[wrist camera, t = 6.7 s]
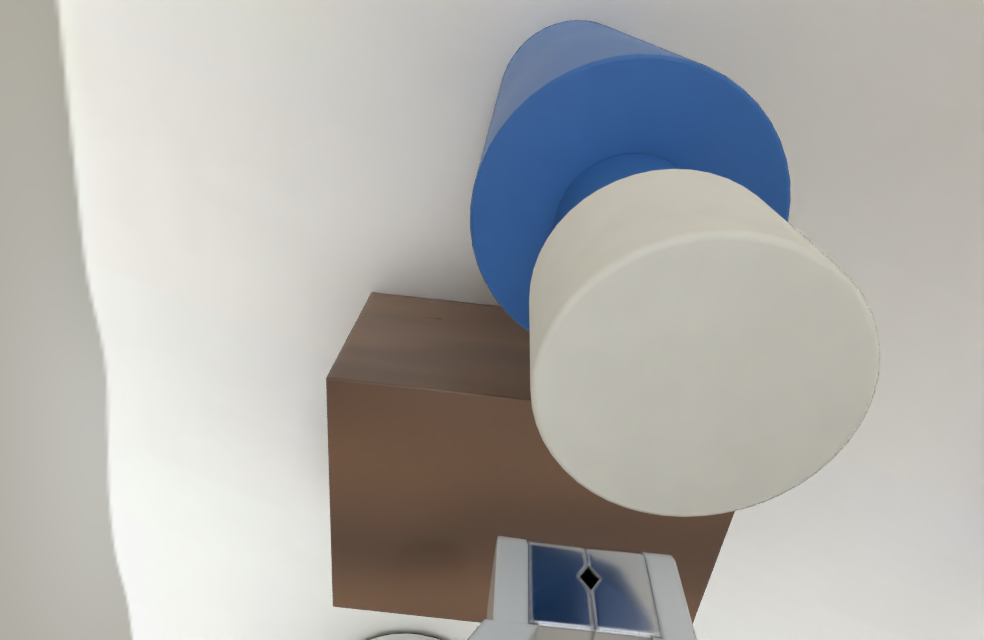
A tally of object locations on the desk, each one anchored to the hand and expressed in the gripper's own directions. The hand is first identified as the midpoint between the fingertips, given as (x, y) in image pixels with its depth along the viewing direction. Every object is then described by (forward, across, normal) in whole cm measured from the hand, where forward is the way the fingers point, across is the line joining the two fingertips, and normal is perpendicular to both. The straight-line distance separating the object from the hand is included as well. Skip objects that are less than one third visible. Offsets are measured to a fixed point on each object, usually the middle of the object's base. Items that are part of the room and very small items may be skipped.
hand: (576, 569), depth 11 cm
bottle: (+12, 0, -1) cm, 12 cm away
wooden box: (+14, 0, +7) cm, 15 cm away
